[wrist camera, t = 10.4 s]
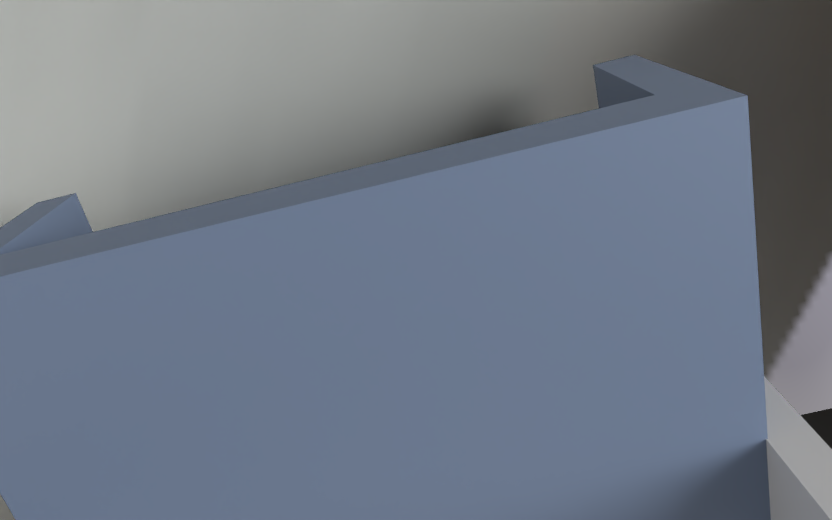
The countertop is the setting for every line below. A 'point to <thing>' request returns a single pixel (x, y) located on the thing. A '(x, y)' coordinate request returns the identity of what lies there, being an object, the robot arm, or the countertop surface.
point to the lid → (410, 334)
